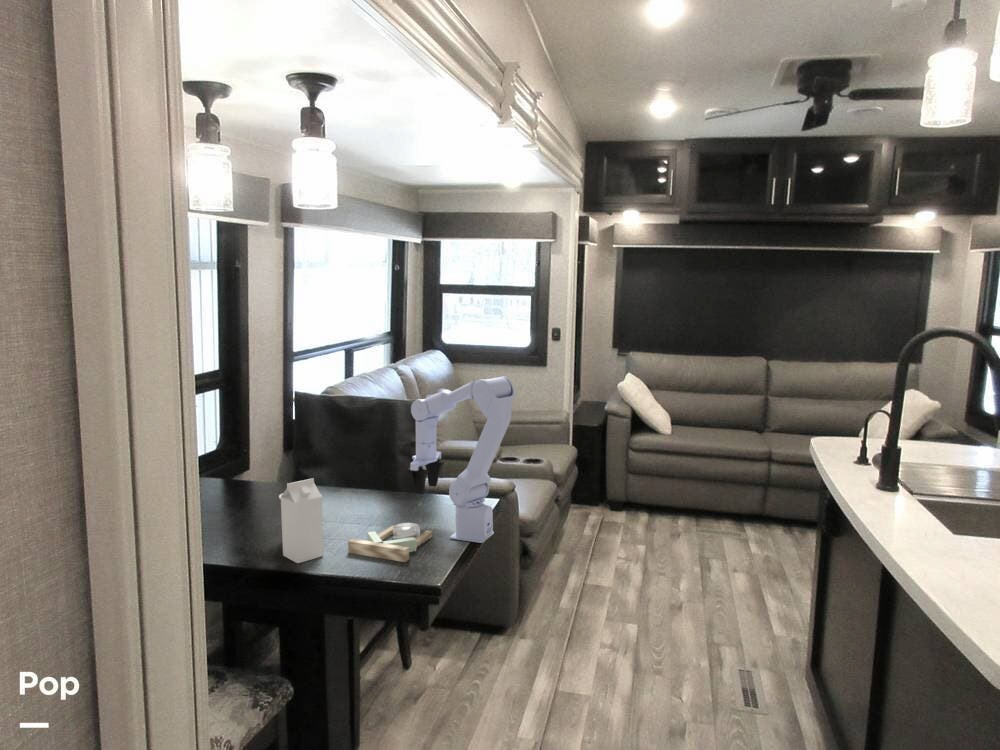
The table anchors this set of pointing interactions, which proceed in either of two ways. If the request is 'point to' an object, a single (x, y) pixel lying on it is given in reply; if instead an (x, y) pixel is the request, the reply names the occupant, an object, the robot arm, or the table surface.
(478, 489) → the robot arm
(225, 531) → the table surface
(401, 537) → the aluminium cover
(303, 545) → the milk carton
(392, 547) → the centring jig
